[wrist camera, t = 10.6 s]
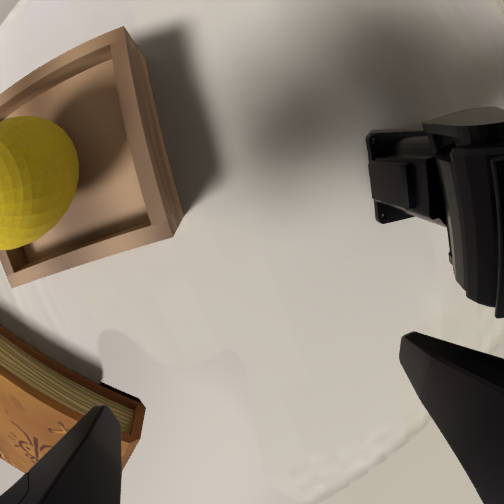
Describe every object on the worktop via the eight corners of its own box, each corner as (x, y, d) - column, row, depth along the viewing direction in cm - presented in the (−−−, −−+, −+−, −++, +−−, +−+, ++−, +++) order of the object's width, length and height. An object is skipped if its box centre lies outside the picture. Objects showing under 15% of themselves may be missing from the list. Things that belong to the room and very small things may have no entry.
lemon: (79, 229, 14) (6, 310, 7) (12, 189, 12) (-78, 240, 5) (118, 138, 13) (35, 157, 5) (43, 101, 11) (-59, 102, 3)
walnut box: (147, 61, 15) (123, 26, 9) (184, 214, 18) (172, 237, 13) (19, 123, 14) (-29, 118, 9) (53, 257, 18) (11, 288, 12)
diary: (107, 479, 27) (102, 509, 22) (-1, 422, 23) (-15, 447, 17) (147, 401, 23) (138, 448, 17) (-14, 309, 18) (-46, 338, 12)
